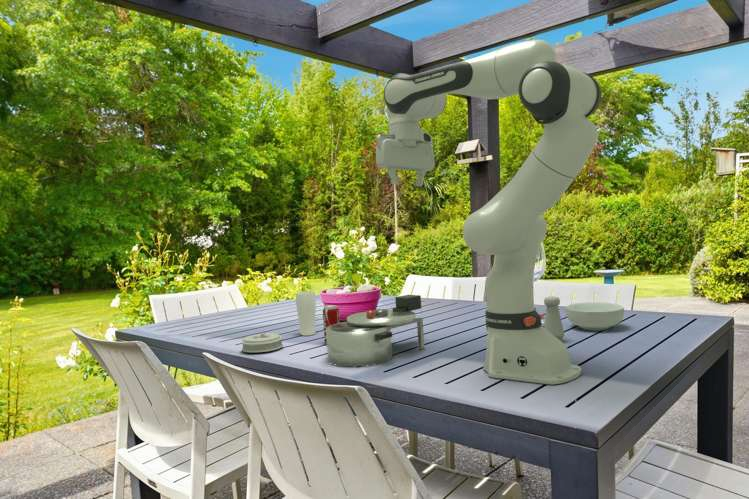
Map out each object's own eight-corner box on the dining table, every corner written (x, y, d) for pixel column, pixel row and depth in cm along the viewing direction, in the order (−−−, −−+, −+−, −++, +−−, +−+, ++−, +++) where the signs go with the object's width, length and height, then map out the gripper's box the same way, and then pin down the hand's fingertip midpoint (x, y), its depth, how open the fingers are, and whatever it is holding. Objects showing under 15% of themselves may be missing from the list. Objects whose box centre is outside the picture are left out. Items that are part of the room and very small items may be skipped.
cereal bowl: (556, 330, 164) (555, 308, 163) (581, 321, 175) (580, 300, 174) (610, 336, 151) (609, 312, 151) (633, 326, 162) (632, 304, 162)
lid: (280, 353, 156) (279, 337, 156) (238, 357, 156) (237, 340, 155) (285, 344, 169) (284, 329, 169) (246, 347, 168) (245, 332, 168)
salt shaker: (545, 338, 152) (543, 295, 152) (566, 339, 150) (563, 295, 149) (541, 343, 147) (539, 298, 147) (562, 344, 145) (560, 298, 144)
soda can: (338, 345, 162) (336, 307, 162) (322, 345, 163) (320, 307, 163) (343, 341, 167) (340, 304, 167) (327, 341, 168) (325, 305, 168)
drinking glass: (320, 332, 184) (317, 290, 184) (314, 336, 178) (311, 293, 177) (302, 332, 186) (299, 291, 185) (295, 336, 179) (292, 294, 178)
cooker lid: (440, 314, 153) (439, 296, 152) (380, 329, 135) (379, 309, 135) (392, 309, 167) (391, 293, 167) (332, 322, 150) (331, 304, 150)
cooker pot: (432, 349, 148) (430, 318, 148) (363, 372, 129) (361, 336, 129) (378, 340, 164) (376, 312, 164) (310, 359, 146) (308, 328, 145)
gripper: (384, 129, 136) (387, 181, 136) (436, 137, 149) (439, 185, 149) (369, 135, 141) (372, 185, 141) (421, 142, 154) (424, 188, 154)
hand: (407, 185), depth 145 cm, fingers open, 8 cm apart
